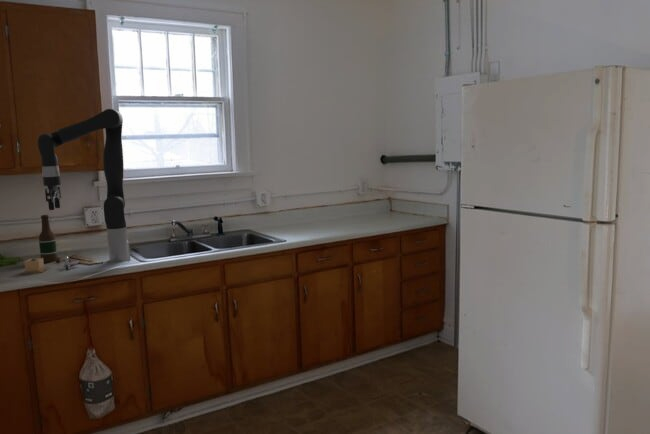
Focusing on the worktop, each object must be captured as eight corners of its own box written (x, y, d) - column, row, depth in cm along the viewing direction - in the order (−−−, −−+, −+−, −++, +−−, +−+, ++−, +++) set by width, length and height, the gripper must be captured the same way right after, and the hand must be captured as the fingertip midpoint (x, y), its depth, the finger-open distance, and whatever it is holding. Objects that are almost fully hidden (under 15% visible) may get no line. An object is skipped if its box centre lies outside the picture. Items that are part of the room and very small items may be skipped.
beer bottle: (38, 261, 275) (33, 215, 272) (54, 259, 280) (50, 213, 277) (43, 263, 269) (38, 216, 266) (60, 261, 275) (55, 214, 271)
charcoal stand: (68, 268, 257) (66, 255, 256) (79, 269, 254) (77, 255, 253) (56, 271, 250) (54, 258, 249) (67, 272, 248) (66, 259, 247)
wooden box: (29, 271, 253) (27, 257, 252) (49, 270, 254) (48, 256, 253) (21, 276, 244) (20, 261, 243) (42, 274, 245) (41, 260, 244)
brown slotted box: (30, 269, 251) (29, 258, 250) (44, 268, 252) (43, 257, 251) (25, 272, 245) (24, 261, 244) (39, 271, 246) (38, 260, 245)
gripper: (54, 176, 252) (58, 210, 254) (64, 174, 266) (67, 206, 268) (37, 176, 251) (41, 211, 253) (48, 175, 264) (51, 207, 267)
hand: (54, 209), depth 260 cm, fingers open, 8 cm apart
